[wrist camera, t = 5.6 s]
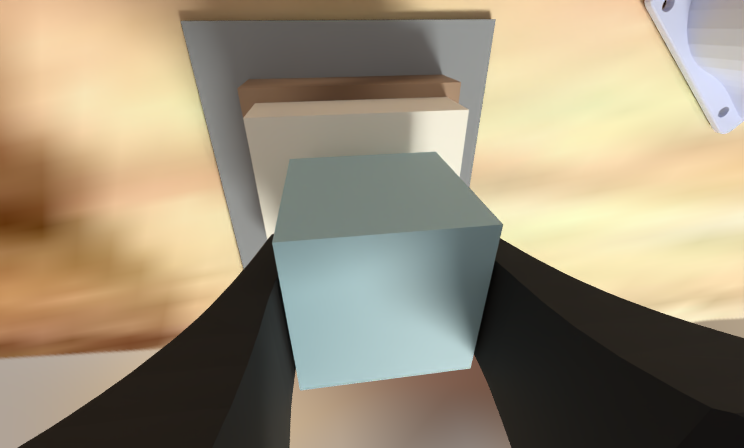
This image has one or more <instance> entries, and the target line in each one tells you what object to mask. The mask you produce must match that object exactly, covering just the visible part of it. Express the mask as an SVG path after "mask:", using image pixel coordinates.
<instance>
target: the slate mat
mask: <svg viewBox="0 0 744 448" xmlns="http://www.w3.org/2000/svg"><path fill="white" fill-rule="evenodd" d="M495 20H496V19H461V20H268V21H181V25H182V29H183V32H184V36H185V40H186V44H187V48H188V52H189V56H190V60H191V64H192V68H193V72H194V76H195V80H196V83H197V87H198V91H199V95H200V99H201V103H202V107H203V111H204V115H205V119H206V123H207V127H208V131H209V134H210V138H211V142H212V146H213V150H214V154H215V158H216V162H217V166H218V170H219V174H220V178H221V182H222V186H223V189H224V193H225V197H226V201H227V205H228V209H229V213H230V217H231V221H232V225H233V229H234V233H235V237H236V240H237V244H238V248H239V252H240V256H241V260H242V264H243V268H245V267H246V266H247V265H248V264H249V262H250V261H251V260H252V259H253V257H254V256H255V255H256V254H257V252H258V251H259V250H260V248H261V247H262V246H263V245H264V243H265V242H266V241H267V236H266V231H265V226H264V221H263V216H262V211H261V206H260V201H259V196H258V191H257V186H256V180H255V175H254V170H253V165H252V160H251V155H250V150H249V145H248V140H247V135H246V130H245V125H244V120H243V115H242V110H241V105H240V100H239V95H238V90H237V88H238V87H240V86H241V85H242V84H243V83H245V82H246V81H247V80H248V79H280V78H321V77H362V76H402V75H445V76H447V77H450V78H452V79H455V80H457V81H459V82H461V88H460V96H459V104H460V105H462V106H463V107H465V108H467V109H469V113H468V121H467V128H466V135H465V142H464V150H463V157H462V164H461V171H460V178H461V179H462V180H463V182H464V183H465V184H466V185H467V186H468V187H469V186H470V179H471V173H472V167H473V160H474V154H475V147H476V141H477V135H478V128H479V122H480V116H481V109H482V103H483V96H484V90H485V84H486V77H487V71H488V65H489V58H490V52H491V45H492V39H493V33H494V26H495Z"/></svg>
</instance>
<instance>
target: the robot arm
mask: <svg viewBox="0 0 744 448" xmlns="http://www.w3.org/2000/svg"><path fill="white" fill-rule="evenodd" d="M664 1H665V0H645V1H644V3H645V7H646V9H647V11H648V12H649V14H650V16H651V18H652V20H653V21H654V23H655V25H656V27H657V29H658V30H659V32H660V34H661V36H662V38H663V40H664V41H665V43H666V45H667V47H668V49H669V50H670V52H671V54H672V56H673V58H674V59H675V61H676V63H677V65H678V67H679V68H680V70H681V72H682V74H683V76H684V78H685V79H686V81H687V83H688V85H689V87H690V88H691V90H692V92H693V94H694V96H695V97H696V99H697V101H698V103H699V105H700V107H701V108H702V110H703V112H704V114H705V116H706V117H707V119H708V121H709V123H710V125H711V126H712V128H713V130H714V131H715V132H717V133H721V134H726V133H729V132H730V131H732V130H733V129H734V128H736V127H737V126H738V125H739V124H741V123H742V122H743V121H744V0H666V5H665V7H664V9H663V10H662V5H663V3H664ZM273 236H274V234H272V235H271V236H270V237H269V238H268V239H267V241H266V242H265V243H264V245H263V246H262V247H261V248H260V250H259V251H258V252H257V254H256V255H255V256H254V257H253V259H252V260H251V261H250V262H249V264H248V265H247V266H246V267H245V268H244V270H243V271H242V272H241V273H240V274H239V275H238V277H237V278H236V279H235V280H234V281H233V282H232V284H231V285H230V286H229V287H228V288H227V289H226V290H225V291H224V292H223V293H222V294H221V295H220V296H219V297H218V299H217V300H216V301H215V302H214V303H213V304H212V305H211V306H210V307H209V308H208V309H207V310H206V311H205V312H204V313H203V314H202V315H201V316H200V317H199V318H197V319H196V320H195V321H194V322H193V323H192V324H191V325H190V326H188V327H187V328H186V329H185V330H184V331H183V332H182V333H181V334H179V335H178V336H177V337H176V338H175V339H173V340H172V341H171V342H170V343H169V344H167V345H166V346H165V347H163V348H162V349H161V350H160V351H158V352H157V353H156V354H154V355H153V356H152V357H151V358H149V359H148V360H147V361H145V362H144V363H143V364H142V365H140V366H139V367H138V368H137V369H135V370H134V371H133V372H131V373H130V374H129V375H127V376H126V377H124V378H123V379H122V380H120V381H119V382H117V383H116V384H115V385H113V386H112V387H110V388H109V389H107V390H106V391H105V392H103V393H102V394H101V395H99V396H98V397H96V398H94V399H93V400H91V401H90V402H88V403H87V404H85V405H84V406H83V407H81V408H80V409H78V410H77V411H75V412H74V413H72V414H71V415H69V416H68V417H66V418H64V419H63V420H61V421H60V422H59V423H57V424H55V425H54V426H52V427H51V428H49V429H47V430H46V431H44V432H43V433H41V434H39V435H38V436H36V437H34V438H33V439H31V440H30V441H28V442H26V443H25V444H23V445H21V446H20V447H18V448H289V445H290V444H289V443H290V418H291V403H292V393H293V385H294V377H295V370H296V366H295V360H294V355H293V350H292V345H291V339H290V334H289V329H288V324H287V318H286V313H285V308H284V302H283V297H282V292H281V287H280V281H279V276H278V271H277V266H276V260H275V255H274V250H273V245H272V241H273ZM474 355H475V357H476V359H477V361H478V363H479V365H480V367H481V369H482V372H483V374H484V376H485V378H486V380H487V383H488V385H489V387H490V390H491V393H492V396H493V398H494V401H495V404H496V406H497V409H498V411H499V414H500V417H501V419H502V422H503V425H504V428H505V431H506V433H507V436H508V439H509V442H510V445H511V448H744V338H741V337H738V336H734V335H731V334H727V333H724V332H720V331H717V330H714V329H711V328H707V327H704V326H701V325H697V324H694V323H691V322H688V321H685V320H681V319H678V318H675V317H672V316H669V315H666V314H663V313H660V312H658V311H655V310H652V309H649V308H647V307H644V306H641V305H638V304H636V303H633V302H630V301H627V300H625V299H622V298H620V297H617V296H615V295H612V294H610V293H607V292H605V291H602V290H600V289H598V288H596V287H593V286H591V285H589V284H586V283H584V282H582V281H580V280H577V279H575V278H573V277H571V276H569V275H567V274H565V273H563V272H561V271H559V270H557V269H555V268H553V267H551V266H549V265H547V264H545V263H543V262H541V261H539V260H537V259H536V258H534V257H532V256H530V255H528V254H527V253H525V252H523V251H521V250H520V249H518V248H516V247H514V246H513V245H511V244H509V243H507V242H506V241H504V240H502V239H501V238H500V240H499V244H498V249H497V253H496V258H495V262H494V266H493V271H492V275H491V280H490V284H489V288H488V293H487V297H486V302H485V306H484V311H483V315H482V319H481V324H480V328H479V333H478V337H477V341H476V346H475V350H474Z"/></svg>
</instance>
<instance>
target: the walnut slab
mask: <svg viewBox="0 0 744 448" xmlns="http://www.w3.org/2000/svg"><path fill="white" fill-rule="evenodd" d="M460 88H461V82H459V81H457V80H455V79H452V78H450V77H447V76H445V75H402V76H362V77H321V78H280V79H248V80H247V81H246V82H245V83H243V84H242V85H241V86H240V87H238V88H237V90H238V95H239V100H240V105H241V110H242V115H243V118H244V116H245V115H246V114H247V113H248V111H249V110H250V109H251V108H252V106H253V105H254V104H255V103H274V102H305V101H335V100H366V99H397V98H428V97H448V98H450V99H451V100H453V101H455V102H456V103H458V104H459V96H460ZM256 186H257V185H256ZM257 191H258V190H257ZM258 196H259V195H258ZM259 201H260V200H259Z"/></svg>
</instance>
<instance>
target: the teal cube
mask: <svg viewBox="0 0 744 448" xmlns="http://www.w3.org/2000/svg"><path fill="white" fill-rule="evenodd" d="M502 227H503V224H502V223H501V222H500V221H499V220H498V218H497V217H496V216H495V215H494V214H493V213H492V212H491V211H490V210H489V209H488V208H487V207H486V205H485V204H484V203H483V202H482V201H481V200H480V199H479V198H478V197H477V196H476V195H475V194H474V192H473V191H472V190H471V189H470V188H469V187H468V186H467V185H466V184H465V183H464V182H463V180H462V179H461V178H460V177H459V176H458V175H457V174H456V173H455V172H454V171H453V170H452V169H451V167H450V166H449V165H448V164H447V163H446V162H445V161H444V160H443V159H442V158H441V157H440V155H439V154H438V153H437V152H416V153H397V154H378V155H358V156H339V157H319V158H300V159H290V160H289V164H288V169H287V174H286V179H285V184H284V188H283V193H282V198H281V203H280V208H279V212H278V217H277V222H276V227H275V232H274V236H273V241H272V245H273V250H274V255H275V260H276V266H277V271H278V276H279V281H280V287H281V292H282V297H283V302H284V308H285V313H286V318H287V324H288V329H289V334H290V339H291V345H292V350H293V355H294V360H295V366H296V371H297V376H298V381H299V387H300V390H307V389H314V388H322V387H330V386H337V385H345V384H353V383H360V382H369V381H376V380H383V379H392V378H399V377H406V376H415V375H422V374H430V373H438V372H445V371H453V370H461V369H469V368H471V363H472V359H473V355H474V350H475V346H476V341H477V337H478V333H479V328H480V324H481V319H482V315H483V311H484V306H485V302H486V297H487V293H488V288H489V284H490V280H491V275H492V271H493V266H494V262H495V258H496V253H497V249H498V244H499V240H500V236H501V231H502Z"/></svg>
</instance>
